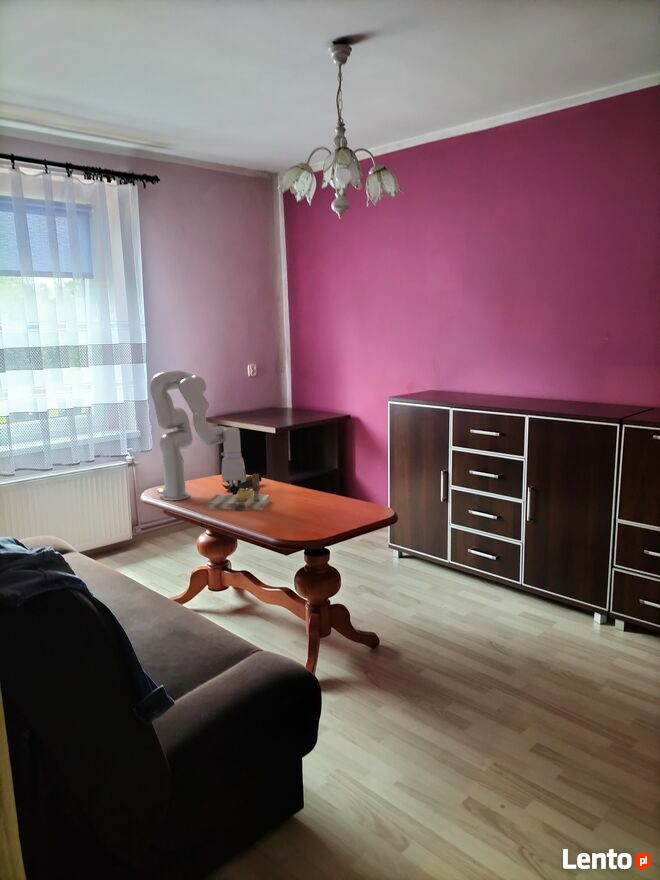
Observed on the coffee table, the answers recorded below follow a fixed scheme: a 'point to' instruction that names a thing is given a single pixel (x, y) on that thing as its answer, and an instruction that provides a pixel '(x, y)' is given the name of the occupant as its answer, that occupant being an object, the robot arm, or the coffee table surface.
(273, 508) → the coffee table surface
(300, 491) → the coffee table surface
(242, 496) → the block
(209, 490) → the coffee table surface
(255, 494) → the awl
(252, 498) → the board
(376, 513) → the coffee table surface
